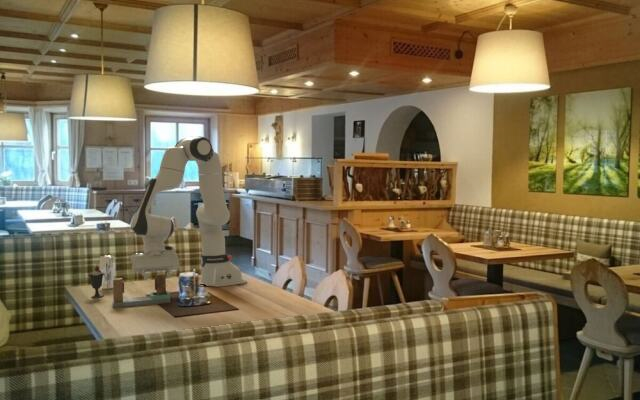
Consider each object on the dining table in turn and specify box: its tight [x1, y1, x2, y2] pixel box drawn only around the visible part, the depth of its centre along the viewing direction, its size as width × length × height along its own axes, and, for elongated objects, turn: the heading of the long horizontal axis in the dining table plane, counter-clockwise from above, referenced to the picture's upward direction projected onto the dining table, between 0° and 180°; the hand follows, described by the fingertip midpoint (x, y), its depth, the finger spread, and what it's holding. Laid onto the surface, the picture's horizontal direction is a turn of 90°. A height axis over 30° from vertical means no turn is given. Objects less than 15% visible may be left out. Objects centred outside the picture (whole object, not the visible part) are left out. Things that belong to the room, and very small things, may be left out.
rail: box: [112, 277, 171, 309], centre depth 239 cm, size 22×7×11 cm, turn 111°
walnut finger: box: [154, 274, 167, 295], centre depth 242 cm, size 4×4×9 cm
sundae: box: [88, 263, 104, 299], centre depth 253 cm, size 7×7×15 cm
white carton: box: [99, 254, 116, 290], centre depth 273 cm, size 7×7×15 cm
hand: (157, 277), depth 252 cm, fingers open, 8 cm apart
